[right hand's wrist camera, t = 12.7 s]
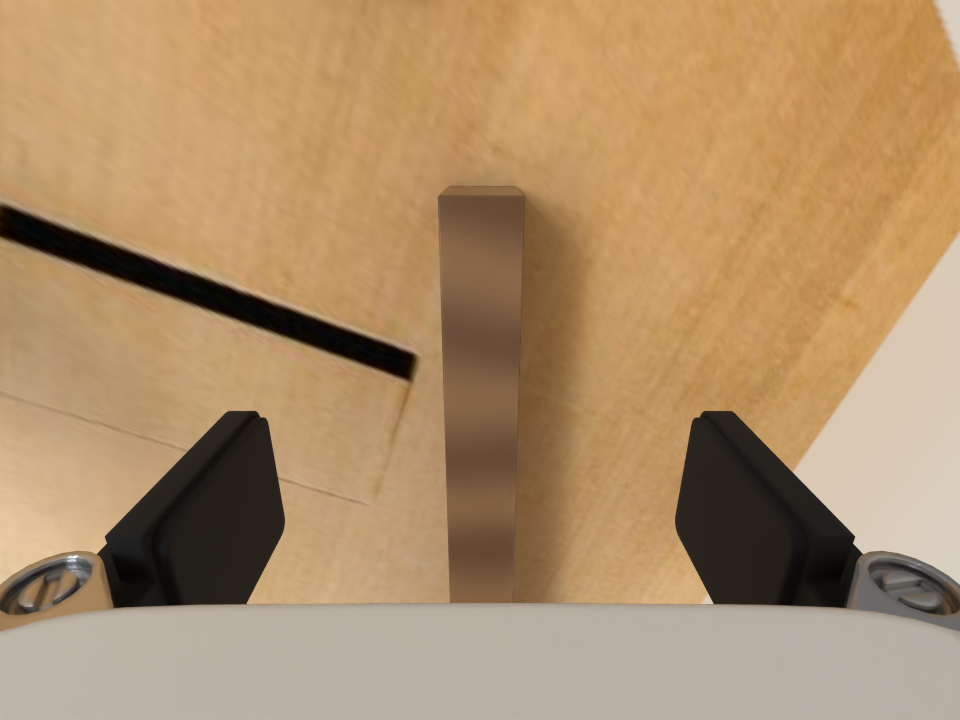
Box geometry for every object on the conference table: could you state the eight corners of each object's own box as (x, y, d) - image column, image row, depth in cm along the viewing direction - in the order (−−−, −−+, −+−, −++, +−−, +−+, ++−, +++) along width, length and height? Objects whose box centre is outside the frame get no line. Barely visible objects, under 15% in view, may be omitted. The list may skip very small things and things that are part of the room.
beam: (448, 186, 35) (437, 195, 28) (516, 186, 35) (525, 195, 28) (461, 785, 60) (458, 875, 53) (501, 785, 60) (503, 876, 53)
